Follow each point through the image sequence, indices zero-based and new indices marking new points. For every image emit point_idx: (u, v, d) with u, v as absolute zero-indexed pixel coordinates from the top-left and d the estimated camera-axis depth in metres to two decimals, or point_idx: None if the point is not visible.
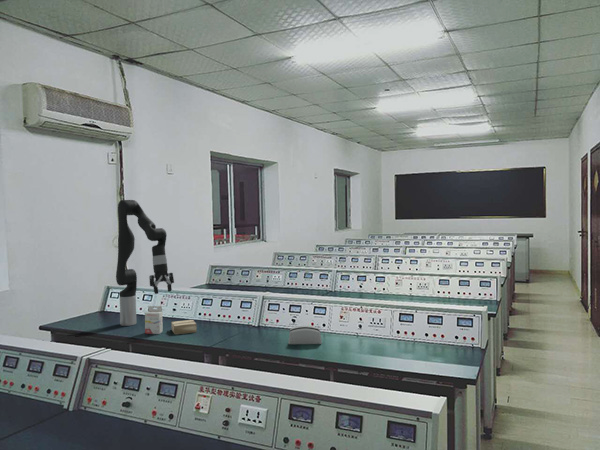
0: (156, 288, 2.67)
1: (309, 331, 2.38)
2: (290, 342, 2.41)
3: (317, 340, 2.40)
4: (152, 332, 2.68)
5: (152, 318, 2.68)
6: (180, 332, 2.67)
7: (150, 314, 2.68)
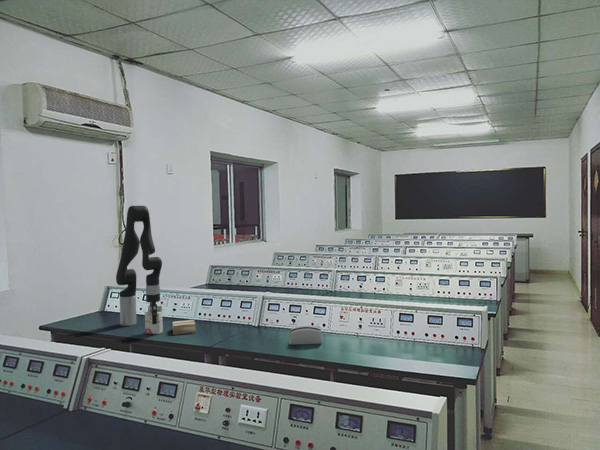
0: None
1: (310, 331, 2.39)
2: (291, 342, 2.41)
3: (318, 339, 2.41)
4: (152, 332, 2.68)
5: None
6: (179, 332, 2.67)
7: (150, 314, 2.68)
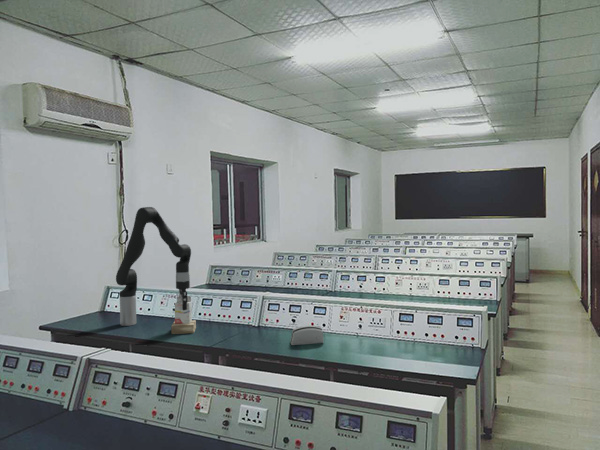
0: (186, 304, 2.70)
1: (313, 331, 2.39)
2: (293, 343, 2.39)
3: (320, 339, 2.42)
4: (182, 322, 2.72)
5: None
6: (177, 332, 2.68)
7: (180, 304, 2.71)
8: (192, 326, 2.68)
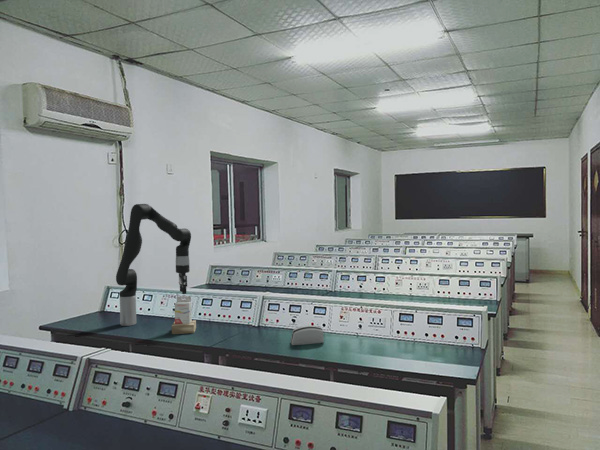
0: (185, 288, 2.69)
1: (313, 331, 2.39)
2: (294, 343, 2.39)
3: (320, 339, 2.42)
4: (182, 322, 2.71)
5: (182, 308, 2.71)
6: (177, 332, 2.68)
7: (180, 304, 2.71)
8: (192, 326, 2.68)
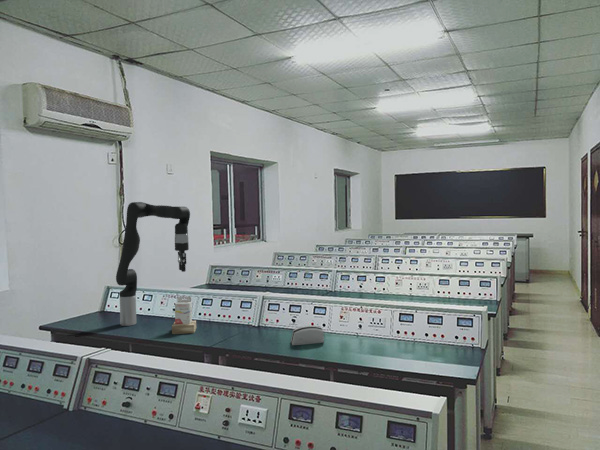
0: None
1: (314, 330, 2.39)
2: (294, 343, 2.39)
3: (320, 339, 2.42)
4: (182, 322, 2.72)
5: (182, 309, 2.71)
6: (177, 332, 2.68)
7: (180, 304, 2.71)
8: (193, 326, 2.68)
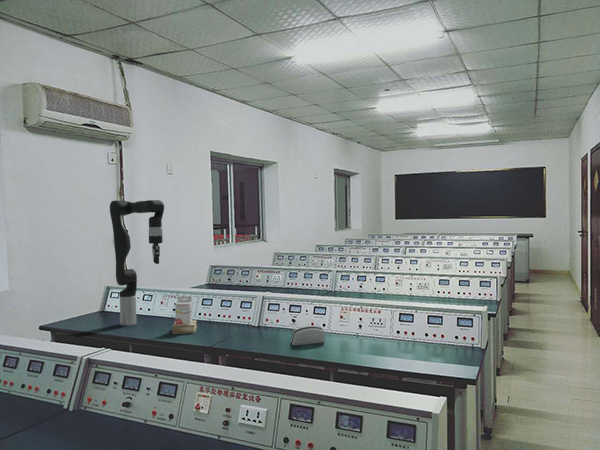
0: (158, 258, 2.74)
1: (314, 330, 2.39)
2: (295, 343, 2.39)
3: (321, 339, 2.42)
4: (182, 323, 2.71)
5: (183, 309, 2.71)
6: (178, 332, 2.67)
7: (181, 304, 2.71)
8: (193, 326, 2.68)
